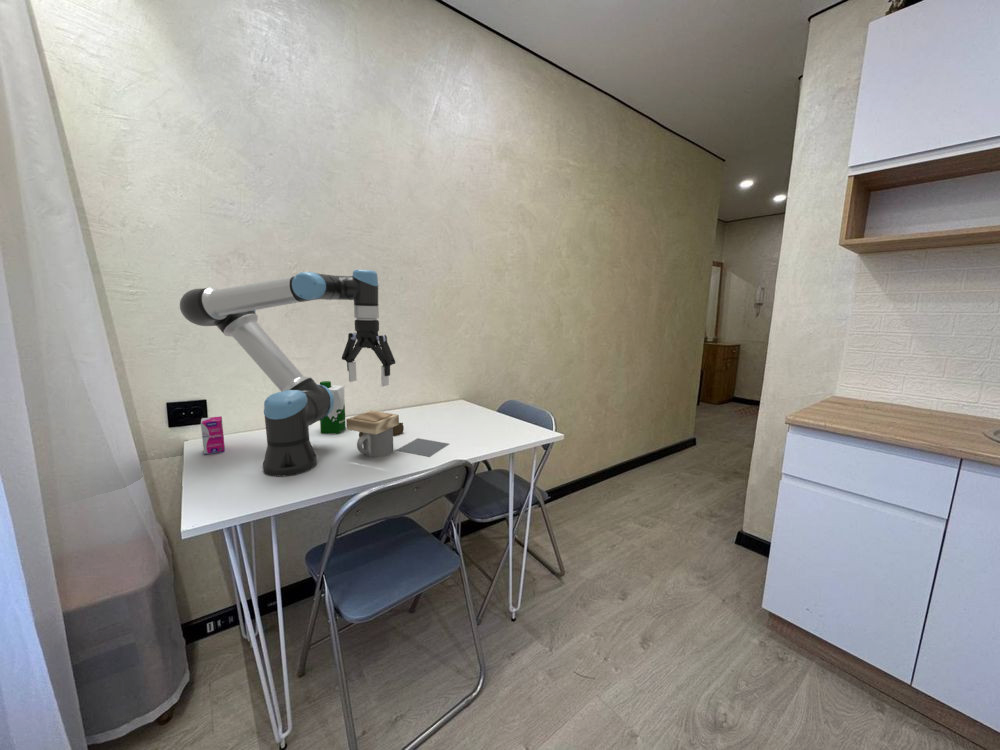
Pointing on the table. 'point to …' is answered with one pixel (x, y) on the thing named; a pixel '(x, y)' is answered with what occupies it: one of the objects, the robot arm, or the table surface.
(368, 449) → the coffee mug
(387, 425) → the lid
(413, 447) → the mat
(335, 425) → the milk carton
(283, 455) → the robot arm
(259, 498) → the table surface
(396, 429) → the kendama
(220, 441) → the supplement box
